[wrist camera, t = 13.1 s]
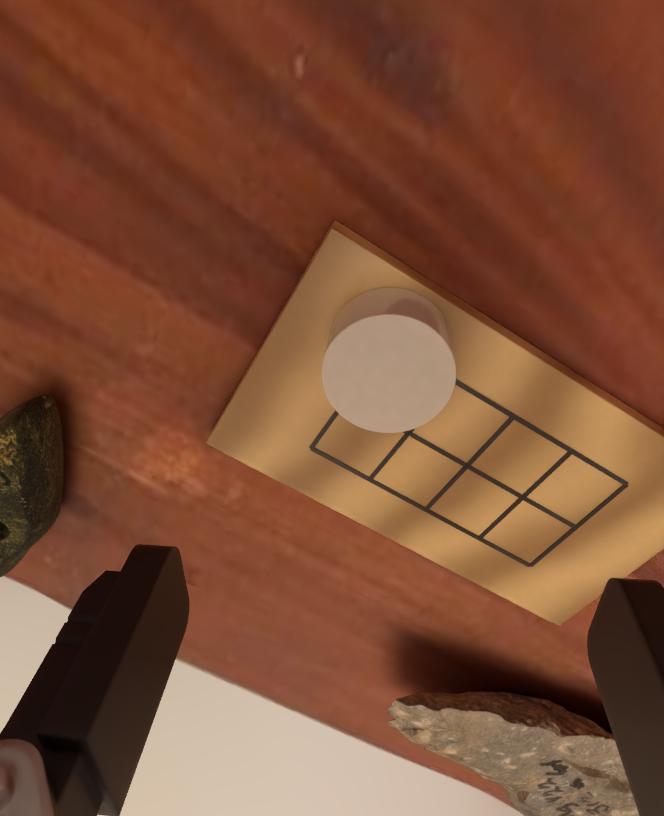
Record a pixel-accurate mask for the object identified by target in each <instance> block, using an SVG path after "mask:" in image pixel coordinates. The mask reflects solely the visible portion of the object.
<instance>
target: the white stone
mask: <svg viewBox="0 0 664 816" xmlns="http://www.w3.org/2000/svg"><path fill="white" fill-rule="evenodd" d="M456 374H457V373H456V363H455V358H454V353H453V348H452V343H451V338H450V333H449V329H448V326H447V323H446V321H445V319H444V317H443V315H442V314H441V312H440V311H439V310H438V309H437V307H436V306H435V305H433V304H432V303H431V302H430V301H429V300H427V299H426V298H425V297H423V296H421V295H419V294H417V293H415V292H412V291H410V290H405V289H401V288H379V289H374V290H371V291H367V292H365V293H363V294H360V295H359V296H357V297H355V298H353V299H352V300H351V301H350V302H348V303H347V304H346V305H345V306H344V307H343V308H342V309H341V310H340V312H339V313H338V314H337V316H336V318H335V320H334V321H333V324H332V326H331V329H330V333H329V337H328V342H327V346H326V350H325V354H324V358H323V362H322V369H321V378H322V385H323V389H324V392H325V394H326V397H327V398H328V400H329V402H330V404H331V405H332V406H333V408H334V409H335V410H336V411H337V412H338V413H339V414H340V415H341V416H342V417H343V418H345V419H346V420H347V421H349V422H350V423H352V424H354V425H356V426H358V427H360V428H363V429H366V430H369V431H373V432H379V433H399V432H404V431H409V430H412V429H415V428H417V427H420V426H422V425H424V424H426V423H427V422H429V421H430V420H432V419H433V418H434V417H436V416H437V415H438V414H439V413H440V412H441V411H442V410H443V408H444V407H445V406H446V404H447V403H448V401H449V400H450V398H451V396H452V393H453V391H454V388H455V383H456Z"/></svg>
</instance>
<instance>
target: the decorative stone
mask: <svg viewBox="0 0 664 816" xmlns="http://www.w3.org/2000/svg"><path fill="white" fill-rule="evenodd" d="M63 483H64V452H63V436H62V426H61V419H60V414H59V410H58V407H57V405H56V403H55V402H54V400H53V398H52V396H50V395H43V396H39V397H36V398H33V399H31V400H28V401H26V402H24V403H23V404H21V405H19V406H17V407H16V408H14V409H13V410H11V411H10V412H8V413H7V414H6V415H5V416H3V417H2V418H1V419H0V577H2V576H4V575H5V574H6V573H8V572H9V571H10V570H11V569H13V568H14V567H15V566H16V565H17V564H18V563H19V561H20V560H21V559H22V558H23V557H24V555H25V554H26V553H27V551H28V550H29V549H30V547H31V546H32V545H33V544H35V543H36V542H37V541H38V540H39V539H40V538H41V537H42V536H43V535H44V534H45V533H46V532H47V531H48V530H49V528H50V527H51V526H52V525H53V523H54V522H55V520H56V519H57V516H58V514H59V511H60V506H61V502H62V495H63Z"/></svg>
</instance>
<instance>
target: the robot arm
mask: <svg viewBox="0 0 664 816" xmlns="http://www.w3.org/2000/svg"><path fill="white" fill-rule="evenodd" d="M188 616H189V596H188V591H187V586H186V581H185V576H184V571H183V566H182V561H181V556H180V552H179V549H178V548H177V547H172V546H157V545H142V544H138V545H136V546H135V547H134V548H133V549H132V551H131V553H130V555H129V557H128V558H127V560H126V562H125V564H124V566H123V568H122V570H121V572H117V571H105V572H104V573H103V574H102V575H101V576H100V577H98V578H97V579H96V580H95V581H94V582H93V583H92V584H91V585H90V586H89V587H87V588H86V589H85V590H84V591H83V592H82V594H81V596H80V597H79V599H78V601H77V603H76V604H75V606H74V608H73V610H72V611H71V613H70V615H69V617H68V621H67V623H64V625H63V627H62V629H61V631H60V632H59V634H58V636H57V637H56V643H55V644H52V646H51V648H50V650H49V651H48V653H47V655H46V656H45V658H44V660H43V662H42V664H41V665H40V667H39V669H38V670H37V672H36V674H35V676H34V677H33V679H32V681H31V683H30V684H29V686H28V688H27V689H26V691H25V693H24V695H23V696H22V698H21V700H20V702H19V704H18V705H17V707H16V709H15V710H14V712H13V714H12V716H11V717H10V719H9V721H8V722H7V724H6V726H5V728H4V729H3V730H2V732H1V733H0V816H97V815H98V814H99V815H108V816H119V815H120V812H121V809H122V807H123V804H124V801H125V798H126V796H127V793H128V790H129V787H130V784H131V781H132V779H133V776H134V773H135V770H136V768H137V764H138V762H139V759H140V756H141V754H142V751H143V748H144V745H145V742H146V740H147V737H148V734H149V731H150V729H151V725H152V723H153V720H154V717H155V714H156V712H157V709H158V706H159V703H160V700H161V698H162V695H163V692H164V689H165V687H166V684H167V681H168V678H169V675H170V672H171V670H172V667H173V664H174V661H175V659H176V656H177V653H178V650H179V647H180V645H181V642H182V639H183V636H184V633H185V630H186V627H187V622H188ZM587 646H588V656H589V662H590V665H591V669H592V672H593V675H594V678H595V681H596V684H597V687H598V690H599V693H600V696H601V699H602V702H603V706H604V709H605V712H606V715H607V718H608V721H609V724H610V727H611V730H612V733H613V736H614V739H615V742H616V745H617V748H618V751H619V755H620V758H621V761H622V764H623V767H624V770H625V773H626V776H627V779H628V782H629V785H630V788H631V791H632V794H633V797H634V800H635V803H636V807H637V810H638V813H639V816H664V588H663V587H662V585H661V584H660V583H659V582H657V581H654V580H640V579H625V578H610V579H609V580H608V581H607V583H606V586H605V588H604V591H603V594H602V596H601V599H600V602H599V604H598V607H597V610H596V612H595V615H594V618H593V620H592V623H591V626H590V628H589V632H588V641H587Z"/></svg>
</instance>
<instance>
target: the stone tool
mask: <svg viewBox="0 0 664 816" xmlns="http://www.w3.org/2000/svg"><path fill="white" fill-rule="evenodd" d="M387 709H388V711H389V714H390V715H391V716H393V717H394V718H395V719H393V720H390V721H388V725H390V726H391V727H393V728H395V729H398V730H400V732H401V733H402V734H403V735H404V736H405V737H406V738H407V739H408V740H410V741H411V742H413V743H415V744H418V745H421V746H423V747H424V748H425V749H427V750H430V751H432V752H434V753H437V754H439V755H441V756H443V757H446V758H448V759H450V760H453V761H455V762H457V763H459V764H461V765H463V766H465V767H467V768H469V769H471V770H473V771H475V773H476V774H478V775H479V776H481V777H483V778H485V779H488V780H491V781H494V782H496V783H498V784H501V785H502V786H503V787H505V789H506V791H507V793H508V798H509V801H510V802H511V803H512V805H513V806H514V807H515V808H516V809H517V810H518V811H519V812H521V813H522V814H523V815H524V816H639V813H638V810H637V807H636V803H635V800H634V797H633V794H632V791H631V788H630V785H629V782H628V779H627V776H626V773H625V770H624V767H623V764H622V761H621V758H620V755H619V751H618V748H617V745H616V742H615V739H614V736H613V734H610V733H608V732H606V731H605V730H604V729H603V728H601V727H599V726H598V725H597V724H596V723H595V722H593V721H591V720H589V719H587V718H585V717H583V716H580V715H577V714H574V713H572V712H569V711H566V710H565V708H564V707H562V706H560V705H557V704H554V703H553V702H551V701H550V700H546V699H539V698H533V697H528V696H524V695H519V694H513V693H506V692H483V691H481V692H471V691H468V692H465V693H461V694H452V693H446V692H437V693H432V692H420V693H417V694H412V695H409V696H406V697H402V698H399V699H396V700H395V701H394V702H393V704H392V705H391V706H390V707H389V708H387Z"/></svg>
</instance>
